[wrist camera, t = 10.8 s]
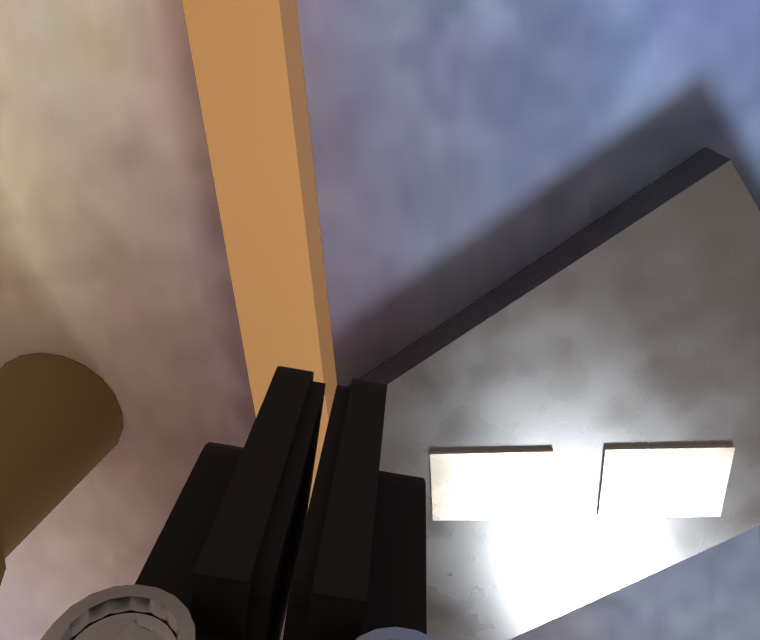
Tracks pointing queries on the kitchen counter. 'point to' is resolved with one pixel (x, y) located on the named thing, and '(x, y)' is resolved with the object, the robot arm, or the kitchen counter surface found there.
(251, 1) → the wooden bar
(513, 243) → the kitchen counter surface
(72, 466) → the cork
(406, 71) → the kitchen counter surface
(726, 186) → the plate
